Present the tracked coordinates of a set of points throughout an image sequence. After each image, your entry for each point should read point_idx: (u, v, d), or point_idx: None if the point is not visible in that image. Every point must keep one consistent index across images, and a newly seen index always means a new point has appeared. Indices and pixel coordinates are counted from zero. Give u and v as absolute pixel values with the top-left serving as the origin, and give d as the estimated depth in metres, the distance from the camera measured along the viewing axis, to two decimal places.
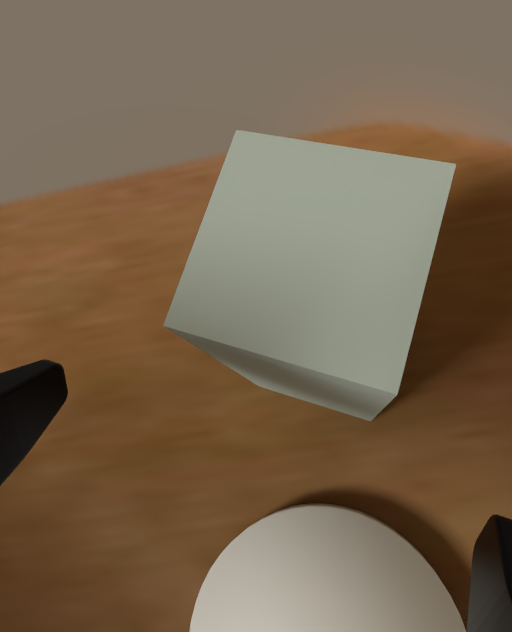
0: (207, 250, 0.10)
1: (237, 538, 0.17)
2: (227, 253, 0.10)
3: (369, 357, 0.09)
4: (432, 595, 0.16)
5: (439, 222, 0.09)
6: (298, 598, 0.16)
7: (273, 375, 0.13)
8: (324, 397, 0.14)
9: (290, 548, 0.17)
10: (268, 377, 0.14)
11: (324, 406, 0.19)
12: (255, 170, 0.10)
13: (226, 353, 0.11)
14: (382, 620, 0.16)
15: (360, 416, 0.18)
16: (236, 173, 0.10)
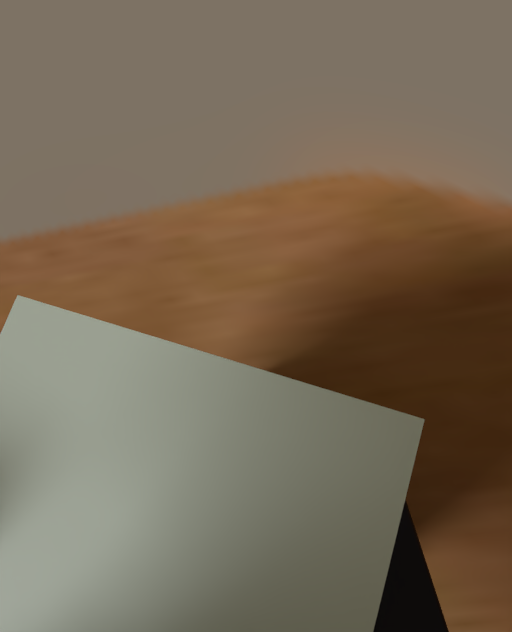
0: None
1: None
2: None
3: None
4: None
5: (384, 568, 0.04)
6: None
7: None
8: None
9: None
10: None
11: None
12: (37, 387, 0.05)
13: None
14: None
15: None
16: (4, 389, 0.05)
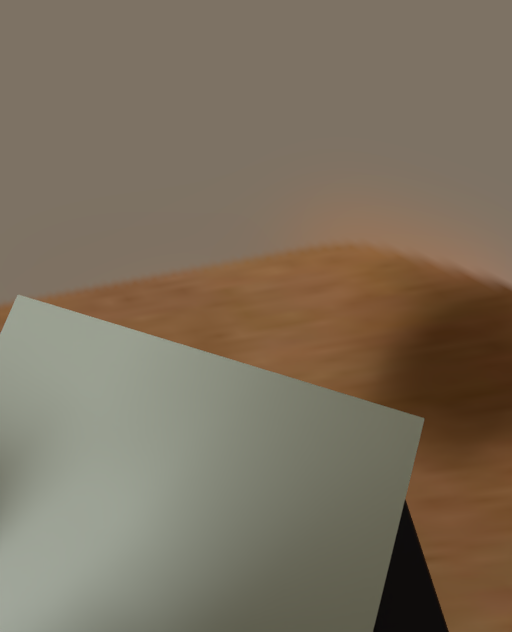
0: None
1: None
2: None
3: None
4: None
5: (384, 567, 0.04)
6: None
7: None
8: None
9: None
10: None
11: None
12: (36, 386, 0.05)
13: None
14: None
15: None
16: (4, 389, 0.05)
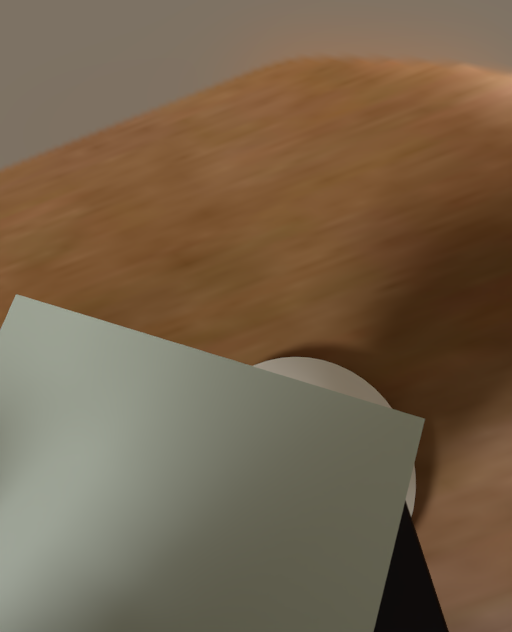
0: None
1: None
2: None
3: None
4: None
5: (384, 568, 0.04)
6: None
7: None
8: None
9: None
10: None
11: None
12: (35, 386, 0.05)
13: None
14: None
15: None
16: (3, 389, 0.05)
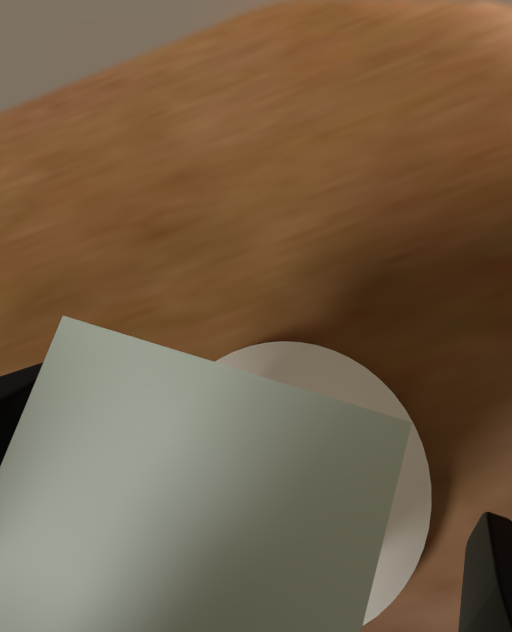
0: None
1: None
2: (23, 555, 0.06)
3: None
4: (377, 397, 0.16)
5: (378, 544, 0.05)
6: None
7: None
8: None
9: None
10: None
11: None
12: (83, 395, 0.06)
13: None
14: None
15: None
16: (54, 397, 0.06)
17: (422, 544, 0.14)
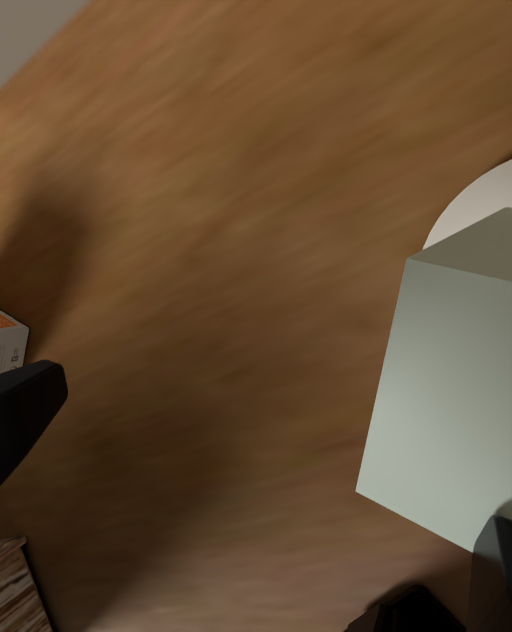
0: (390, 422, 0.08)
1: (444, 212, 0.17)
2: (416, 431, 0.08)
3: None
4: None
5: None
6: None
7: None
8: None
9: (505, 202, 0.17)
10: None
11: None
12: (441, 325, 0.07)
13: None
14: None
15: None
16: (414, 327, 0.08)
17: None
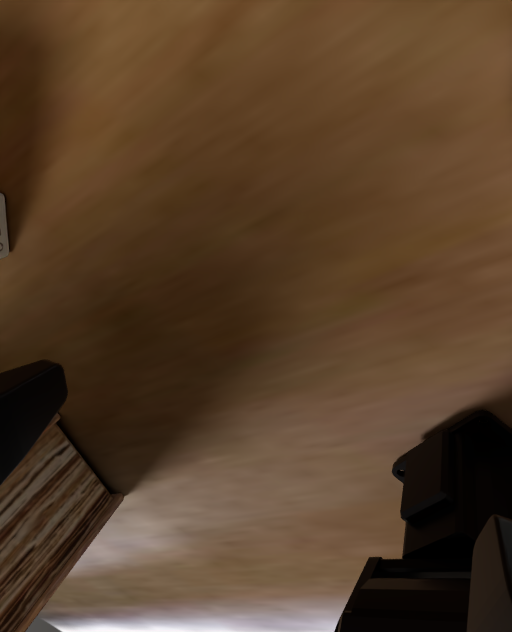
0: None
1: None
2: None
3: None
4: None
5: None
6: None
7: None
8: None
9: None
10: None
11: None
12: None
13: None
14: None
15: None
16: None
17: None
